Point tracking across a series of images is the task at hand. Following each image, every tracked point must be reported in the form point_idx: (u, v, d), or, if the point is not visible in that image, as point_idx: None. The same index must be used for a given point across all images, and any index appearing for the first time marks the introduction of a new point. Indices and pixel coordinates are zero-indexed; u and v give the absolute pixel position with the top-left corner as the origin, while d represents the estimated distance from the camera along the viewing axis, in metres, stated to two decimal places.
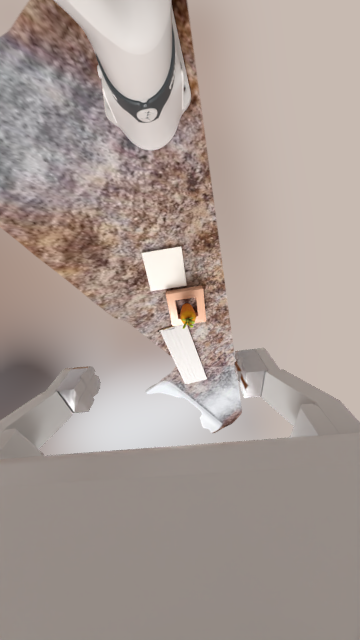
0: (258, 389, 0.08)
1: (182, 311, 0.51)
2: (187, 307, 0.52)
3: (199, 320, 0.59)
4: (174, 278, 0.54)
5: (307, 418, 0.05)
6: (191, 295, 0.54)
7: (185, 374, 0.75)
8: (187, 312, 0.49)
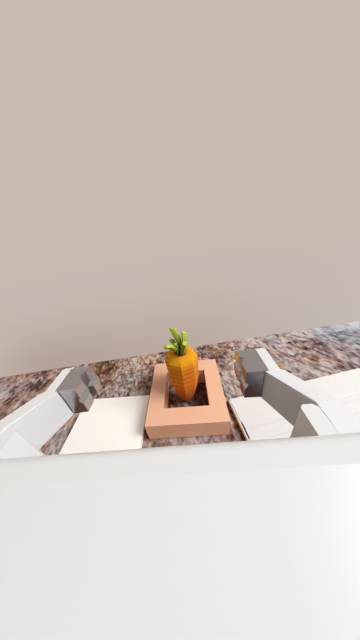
0: (258, 389, 0.08)
1: (169, 371, 0.25)
2: None
3: (213, 367, 0.32)
4: (128, 415, 0.28)
5: (307, 418, 0.05)
6: (160, 379, 0.31)
7: None
8: (166, 356, 0.25)
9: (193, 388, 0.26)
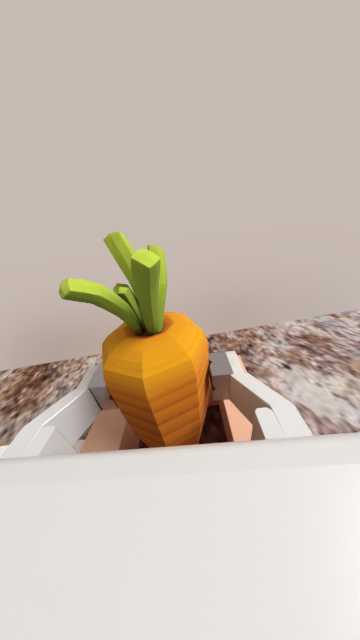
0: (226, 392, 0.08)
1: None
2: None
3: None
4: None
5: (259, 422, 0.06)
6: None
7: None
8: (106, 341, 0.08)
9: (195, 438, 0.09)
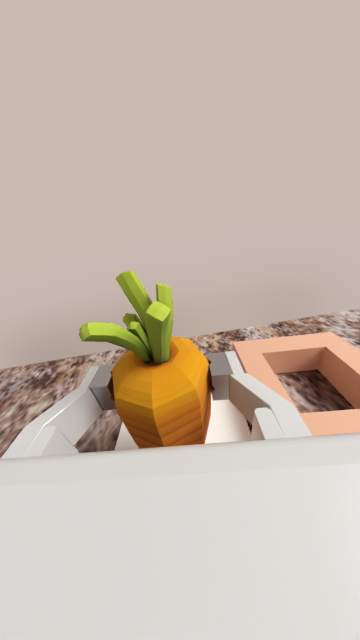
0: (225, 392, 0.08)
1: None
2: None
3: (339, 343, 0.19)
4: (215, 427, 0.15)
5: (258, 422, 0.06)
6: (258, 363, 0.18)
7: None
8: (116, 366, 0.08)
9: None
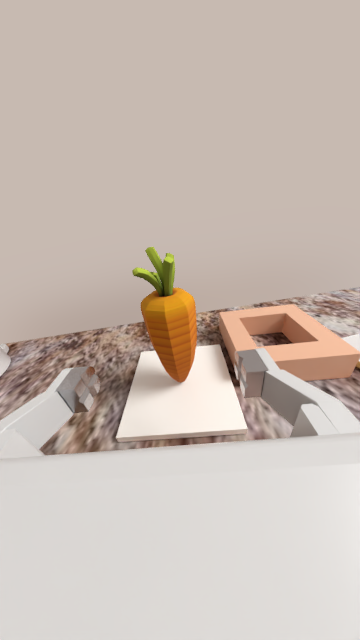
0: (258, 389, 0.08)
1: (147, 325, 0.15)
2: None
3: (296, 310, 0.26)
4: (202, 363, 0.22)
5: (307, 418, 0.05)
6: (235, 323, 0.25)
7: None
8: (143, 301, 0.15)
9: (188, 357, 0.16)
